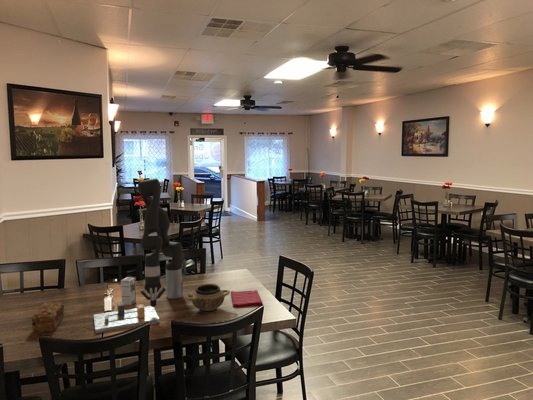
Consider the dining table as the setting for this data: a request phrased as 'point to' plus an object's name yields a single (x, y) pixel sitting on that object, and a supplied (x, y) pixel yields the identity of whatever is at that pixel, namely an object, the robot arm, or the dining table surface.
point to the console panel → (123, 318)
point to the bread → (48, 316)
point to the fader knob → (140, 311)
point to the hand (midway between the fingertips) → (153, 306)
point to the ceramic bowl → (207, 297)
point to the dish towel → (246, 298)
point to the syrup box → (128, 291)
